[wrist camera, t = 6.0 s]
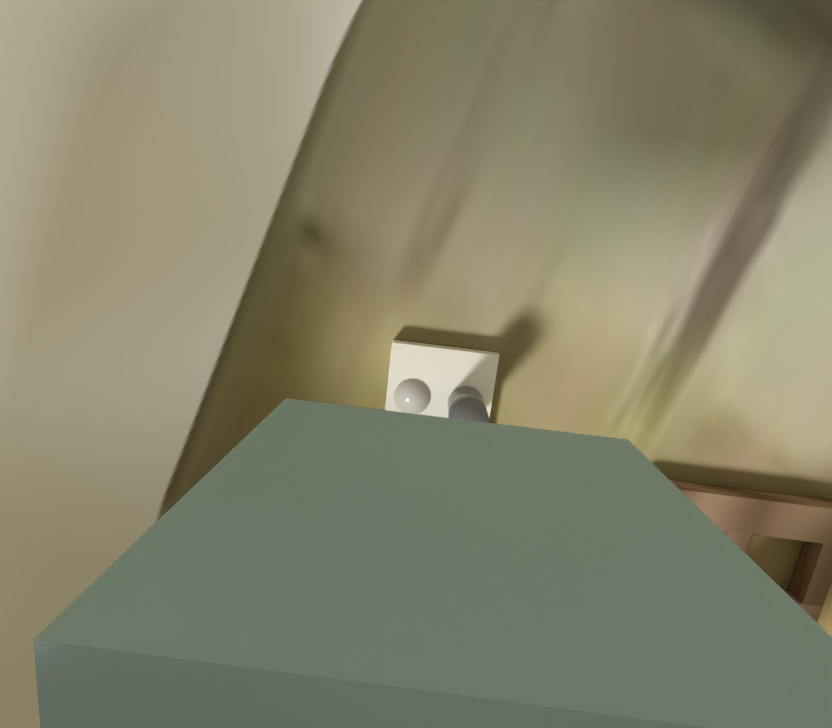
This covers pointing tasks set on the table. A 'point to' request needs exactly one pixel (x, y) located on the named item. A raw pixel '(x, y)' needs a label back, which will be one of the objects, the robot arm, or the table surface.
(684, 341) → the table surface
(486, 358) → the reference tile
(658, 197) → the table surface
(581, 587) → the block
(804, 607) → the brown grid frame
